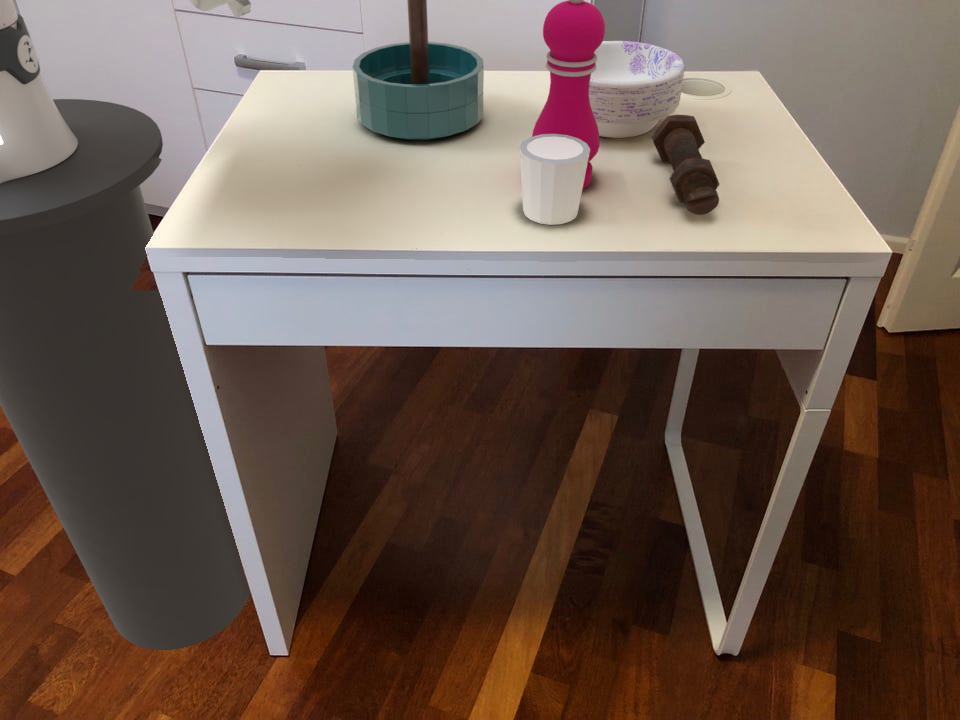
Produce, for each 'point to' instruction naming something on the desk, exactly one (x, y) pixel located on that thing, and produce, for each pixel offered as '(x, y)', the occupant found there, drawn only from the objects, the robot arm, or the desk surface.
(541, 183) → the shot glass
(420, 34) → the muddler
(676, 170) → the bolt
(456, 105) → the bowl
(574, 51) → the pepper mill
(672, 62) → the paper bowls
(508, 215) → the desk surface
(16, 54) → the robot arm
